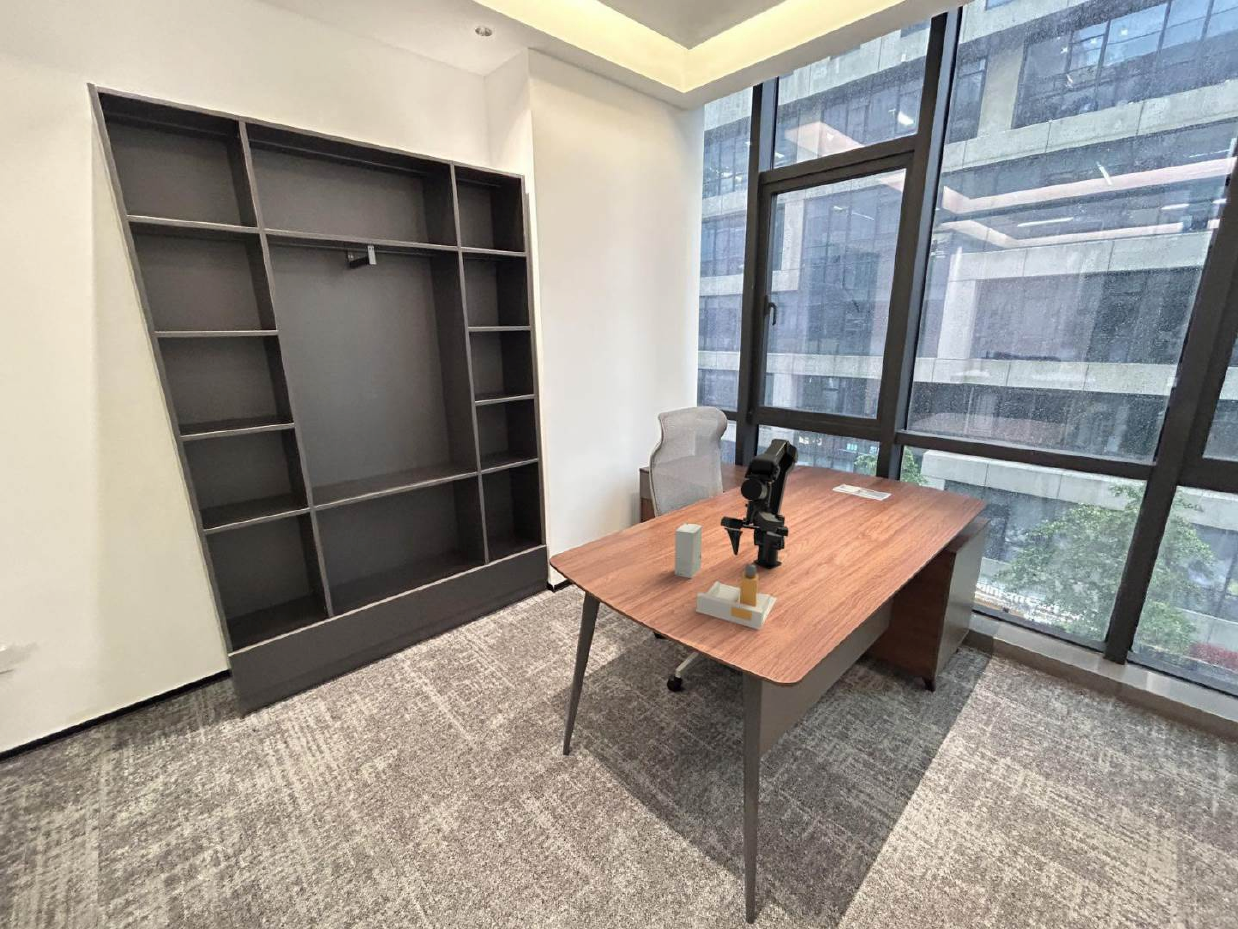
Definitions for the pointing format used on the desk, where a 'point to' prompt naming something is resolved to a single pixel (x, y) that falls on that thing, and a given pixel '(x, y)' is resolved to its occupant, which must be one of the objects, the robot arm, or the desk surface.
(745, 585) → the orange plug
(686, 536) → the skincare box
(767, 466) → the robot arm
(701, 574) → the desk surface
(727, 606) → the white ribbed tray
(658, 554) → the desk surface
